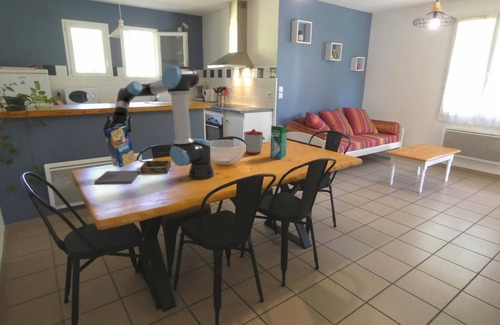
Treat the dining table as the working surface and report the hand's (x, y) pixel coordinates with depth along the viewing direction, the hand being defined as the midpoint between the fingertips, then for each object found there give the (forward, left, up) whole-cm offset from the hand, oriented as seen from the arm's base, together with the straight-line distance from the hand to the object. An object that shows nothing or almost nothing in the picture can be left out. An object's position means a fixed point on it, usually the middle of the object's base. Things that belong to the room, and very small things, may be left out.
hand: (115, 141), depth 170 cm
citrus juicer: (-88, -59, -23) cm, 109 cm away
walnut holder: (-18, -17, -23) cm, 34 cm away
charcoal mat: (+1, -1, -23) cm, 23 cm away
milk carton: (-105, -45, -23) cm, 117 cm away
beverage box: (-2, -5, -15) cm, 16 cm away
